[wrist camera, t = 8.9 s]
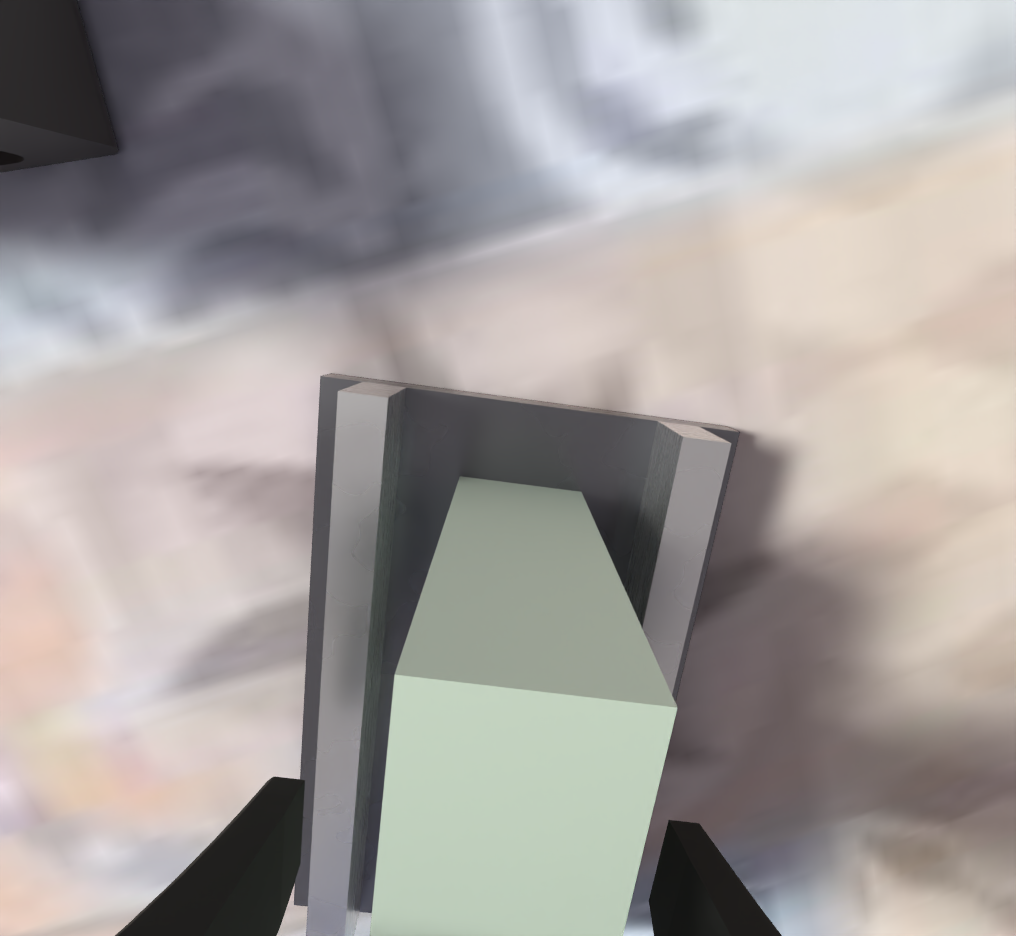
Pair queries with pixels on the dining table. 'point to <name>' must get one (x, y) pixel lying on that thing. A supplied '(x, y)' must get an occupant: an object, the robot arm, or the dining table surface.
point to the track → (410, 549)
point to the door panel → (519, 730)
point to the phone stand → (49, 87)
